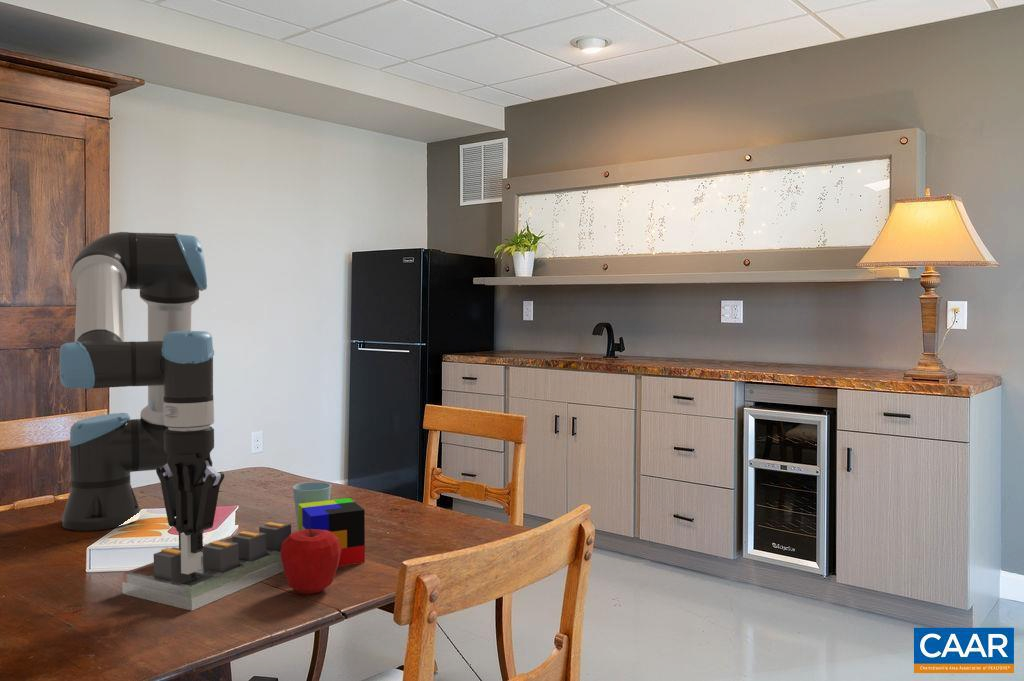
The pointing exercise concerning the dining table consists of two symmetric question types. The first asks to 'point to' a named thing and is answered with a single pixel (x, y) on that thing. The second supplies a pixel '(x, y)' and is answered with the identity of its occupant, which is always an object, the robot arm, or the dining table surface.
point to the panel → (200, 582)
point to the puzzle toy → (337, 525)
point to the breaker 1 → (169, 566)
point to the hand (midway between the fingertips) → (191, 571)
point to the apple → (310, 559)
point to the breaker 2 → (220, 556)
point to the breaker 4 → (275, 534)
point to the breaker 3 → (250, 545)
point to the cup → (311, 493)
